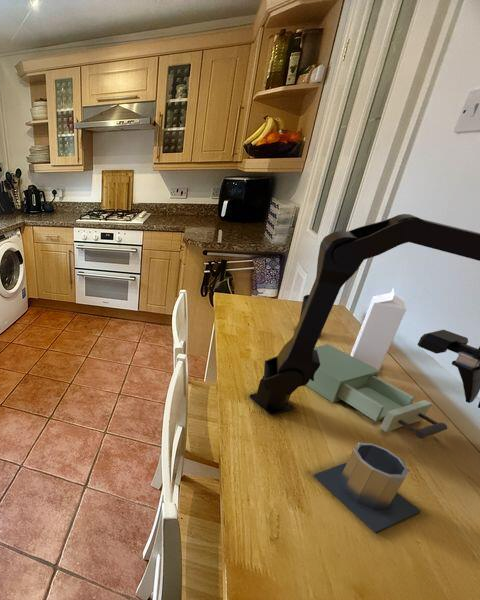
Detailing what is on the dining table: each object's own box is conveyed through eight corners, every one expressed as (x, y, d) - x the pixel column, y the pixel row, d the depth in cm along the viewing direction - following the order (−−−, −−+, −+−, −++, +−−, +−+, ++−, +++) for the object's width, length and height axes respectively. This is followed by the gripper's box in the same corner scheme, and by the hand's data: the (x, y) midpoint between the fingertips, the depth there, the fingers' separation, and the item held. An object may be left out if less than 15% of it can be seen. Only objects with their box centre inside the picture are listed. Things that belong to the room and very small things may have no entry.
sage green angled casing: (371, 391, 77) (380, 370, 74) (332, 402, 74) (341, 381, 71) (321, 362, 88) (327, 344, 86) (285, 371, 85) (291, 352, 82)
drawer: (449, 434, 64) (459, 417, 62) (411, 448, 61) (420, 431, 59) (364, 385, 78) (371, 371, 76) (330, 395, 74) (336, 380, 73)
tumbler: (372, 515, 50) (390, 483, 47) (330, 478, 56) (344, 447, 53) (400, 503, 51) (419, 471, 48) (356, 468, 57) (371, 438, 54)
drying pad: (375, 533, 48) (376, 531, 48) (313, 476, 57) (314, 474, 56) (419, 513, 51) (421, 511, 50) (353, 461, 59) (354, 459, 59)
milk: (376, 364, 87) (410, 290, 78) (377, 375, 83) (412, 297, 74) (348, 356, 91) (377, 284, 82) (348, 366, 86) (378, 291, 78)
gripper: (660, 348, 44) (589, 433, 50) (472, 297, 60) (436, 366, 66) (620, 363, 41) (549, 451, 47) (434, 305, 57) (400, 376, 63)
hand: (474, 404), depth 56 cm, fingers closed
